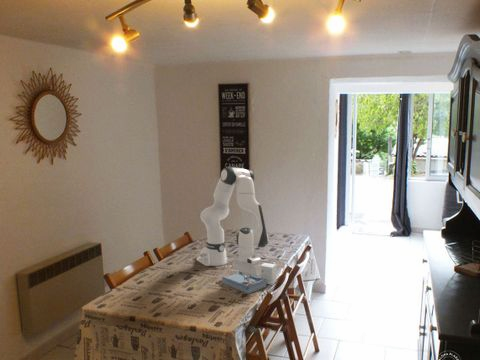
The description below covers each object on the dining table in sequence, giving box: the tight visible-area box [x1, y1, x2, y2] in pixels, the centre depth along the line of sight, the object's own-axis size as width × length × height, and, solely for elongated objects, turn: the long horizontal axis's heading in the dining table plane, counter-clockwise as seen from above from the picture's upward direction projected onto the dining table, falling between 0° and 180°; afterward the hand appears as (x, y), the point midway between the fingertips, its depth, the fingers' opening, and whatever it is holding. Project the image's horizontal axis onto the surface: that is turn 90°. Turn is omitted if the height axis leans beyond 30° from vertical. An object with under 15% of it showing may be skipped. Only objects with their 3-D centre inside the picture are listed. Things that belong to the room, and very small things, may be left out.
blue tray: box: [221, 271, 267, 294], centre depth 243 cm, size 22×14×4 cm, turn 42°
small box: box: [259, 262, 278, 286], centre depth 246 cm, size 8×6×10 cm
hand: (246, 280), depth 241 cm, fingers closed
